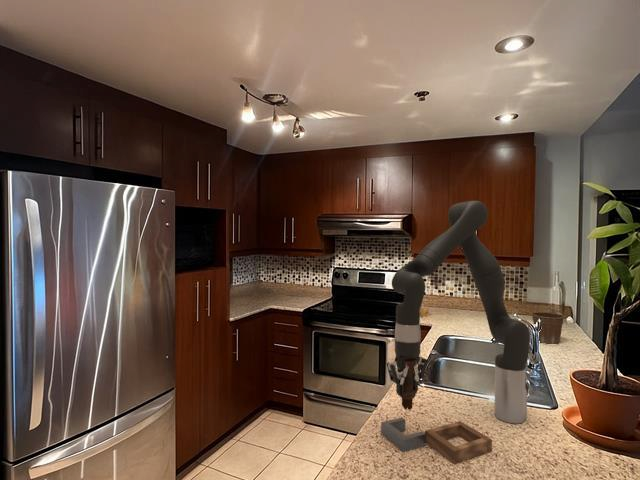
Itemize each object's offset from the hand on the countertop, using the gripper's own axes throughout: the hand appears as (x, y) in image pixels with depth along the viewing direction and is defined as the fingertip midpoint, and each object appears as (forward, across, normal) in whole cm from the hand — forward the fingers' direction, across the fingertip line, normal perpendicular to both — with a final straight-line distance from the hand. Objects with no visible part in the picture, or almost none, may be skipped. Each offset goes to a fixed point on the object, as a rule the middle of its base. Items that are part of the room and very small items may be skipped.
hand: (407, 393), depth 118 cm
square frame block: (+13, -10, +10) cm, 20 cm away
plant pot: (+14, -135, -49) cm, 145 cm away
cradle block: (+13, +2, 0) cm, 14 cm away
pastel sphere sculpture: (+14, -112, -137) cm, 178 cm away
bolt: (+4, 0, 0) cm, 4 cm away
